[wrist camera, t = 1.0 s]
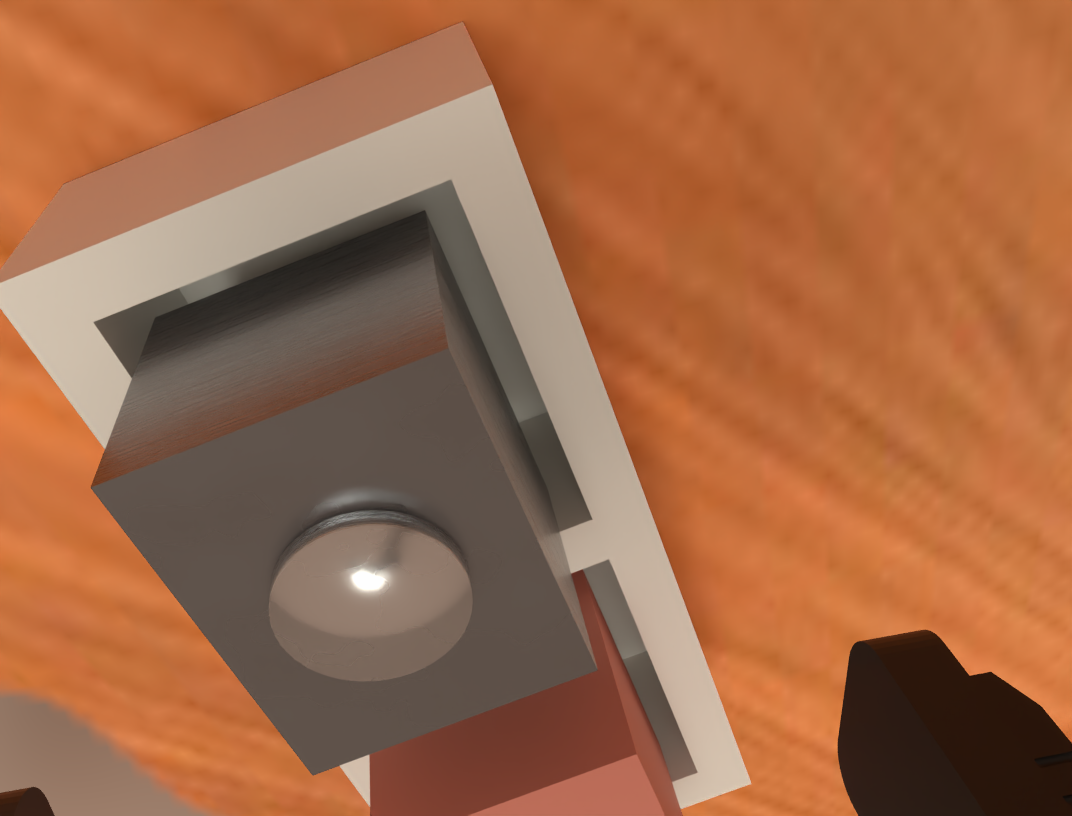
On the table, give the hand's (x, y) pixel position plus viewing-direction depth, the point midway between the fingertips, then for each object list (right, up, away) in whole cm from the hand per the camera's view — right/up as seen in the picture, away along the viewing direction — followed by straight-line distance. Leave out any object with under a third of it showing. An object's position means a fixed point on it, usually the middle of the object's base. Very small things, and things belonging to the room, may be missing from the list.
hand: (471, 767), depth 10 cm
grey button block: (-4, +4, +16) cm, 17 cm away
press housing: (-3, +2, +25) cm, 25 cm away
